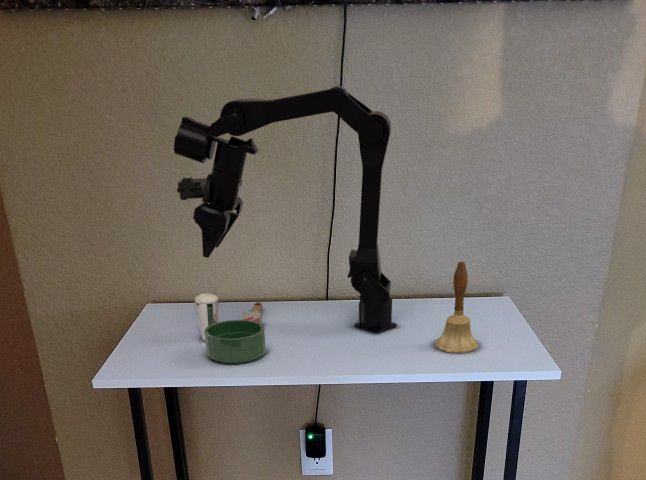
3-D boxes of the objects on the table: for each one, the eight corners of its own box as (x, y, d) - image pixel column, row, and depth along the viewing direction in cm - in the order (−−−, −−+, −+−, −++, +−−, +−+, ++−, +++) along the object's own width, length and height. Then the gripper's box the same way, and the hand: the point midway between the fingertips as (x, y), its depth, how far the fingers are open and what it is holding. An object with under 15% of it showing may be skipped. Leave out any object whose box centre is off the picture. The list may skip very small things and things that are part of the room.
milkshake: (229, 336, 153) (224, 287, 147) (212, 344, 149) (206, 294, 144) (211, 332, 155) (206, 284, 150) (194, 340, 151) (188, 290, 146)
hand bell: (474, 355, 141) (482, 269, 133) (431, 351, 143) (435, 266, 135) (480, 340, 148) (487, 257, 139) (438, 336, 150) (443, 255, 142)
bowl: (277, 354, 144) (276, 329, 141) (230, 370, 137) (227, 343, 134) (242, 340, 151) (240, 315, 148) (195, 354, 144) (192, 329, 142)
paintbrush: (236, 325, 149) (249, 299, 166) (237, 338, 150) (250, 311, 168) (255, 324, 149) (267, 299, 166) (256, 338, 150) (268, 311, 167)
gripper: (197, 152, 150) (182, 229, 158) (174, 164, 134) (159, 249, 142) (251, 170, 151) (233, 246, 159) (234, 184, 135) (216, 268, 143)
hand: (210, 251), depth 151 cm, fingers open, 9 cm apart
